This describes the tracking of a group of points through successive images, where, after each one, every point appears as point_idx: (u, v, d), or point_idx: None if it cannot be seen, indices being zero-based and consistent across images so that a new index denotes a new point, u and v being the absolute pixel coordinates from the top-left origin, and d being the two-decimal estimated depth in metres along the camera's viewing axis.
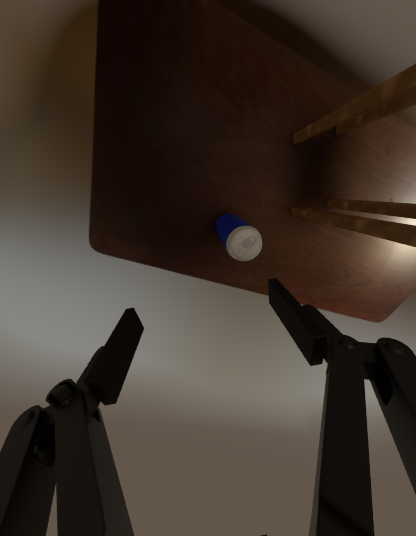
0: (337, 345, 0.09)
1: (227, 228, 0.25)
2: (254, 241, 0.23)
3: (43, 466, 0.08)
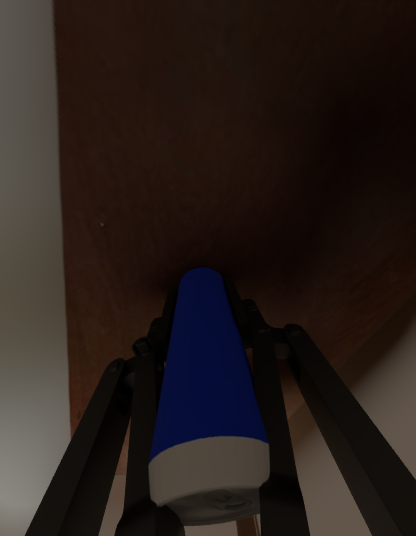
0: (255, 332, 0.10)
1: (240, 362, 0.08)
2: (228, 504, 0.06)
3: (120, 413, 0.09)
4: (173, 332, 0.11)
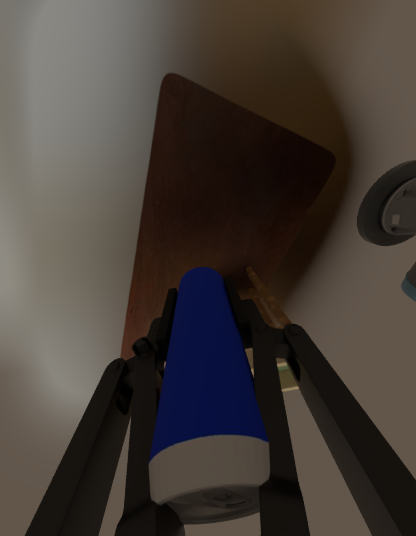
0: (255, 332, 0.10)
1: (239, 361, 0.08)
2: (228, 503, 0.07)
3: (120, 413, 0.09)
4: (173, 332, 0.11)
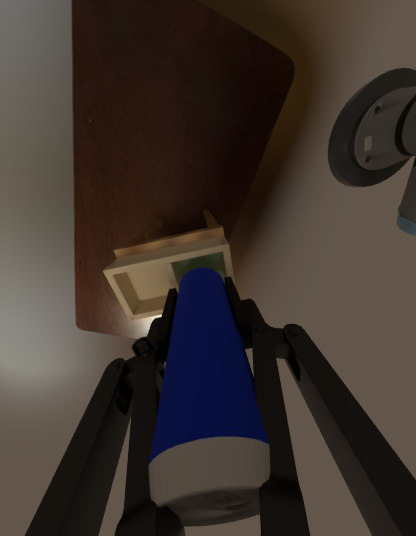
0: (255, 332, 0.10)
1: (240, 362, 0.08)
2: (229, 505, 0.06)
3: (120, 413, 0.09)
4: (173, 332, 0.11)
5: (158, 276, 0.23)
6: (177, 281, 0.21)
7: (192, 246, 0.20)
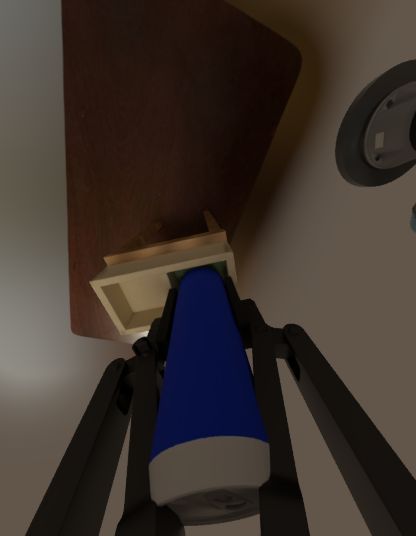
0: (254, 332, 0.10)
1: (240, 362, 0.08)
2: (229, 504, 0.06)
3: (121, 413, 0.09)
4: (173, 332, 0.11)
5: (153, 286, 0.21)
6: None
7: (191, 253, 0.18)
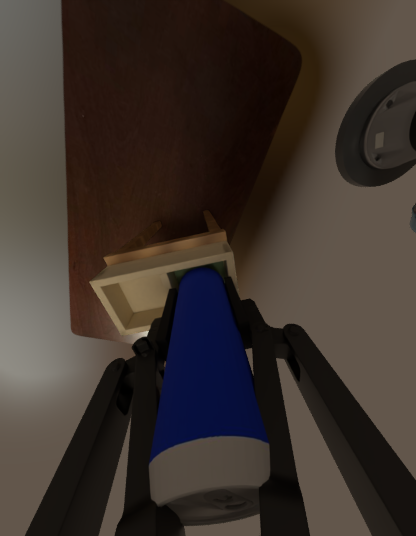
0: (255, 332, 0.10)
1: (240, 362, 0.08)
2: (228, 504, 0.06)
3: (120, 413, 0.09)
4: (173, 332, 0.11)
5: (153, 286, 0.21)
6: None
7: (191, 253, 0.18)
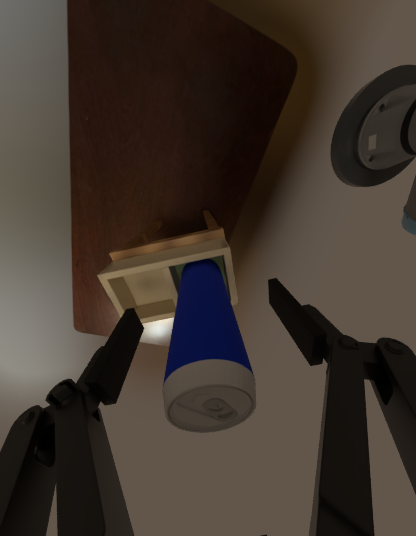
0: (337, 345, 0.09)
1: (230, 322, 0.11)
2: (220, 416, 0.09)
3: (43, 466, 0.08)
4: (178, 306, 0.14)
5: (156, 280, 0.22)
6: (175, 286, 0.20)
7: (191, 249, 0.19)
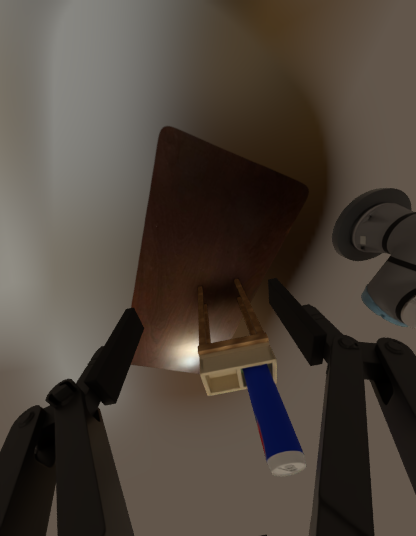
0: (337, 345, 0.09)
1: (288, 423, 0.24)
2: (290, 470, 0.22)
3: (43, 466, 0.08)
4: (256, 405, 0.27)
5: None
6: (241, 375, 0.33)
7: (251, 354, 0.33)
